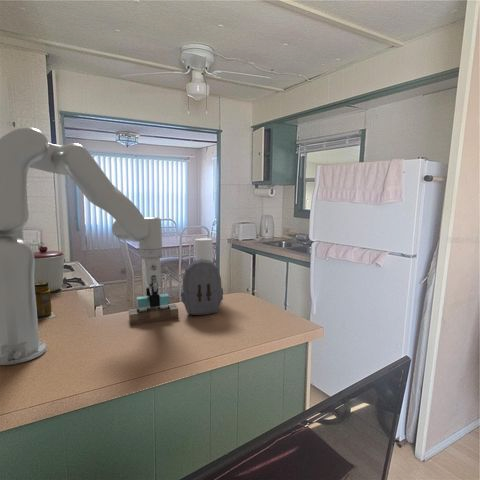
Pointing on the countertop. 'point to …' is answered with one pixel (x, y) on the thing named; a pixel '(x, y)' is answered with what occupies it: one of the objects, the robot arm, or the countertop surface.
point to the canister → (49, 267)
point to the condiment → (43, 301)
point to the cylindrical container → (204, 249)
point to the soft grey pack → (202, 288)
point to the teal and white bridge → (145, 302)
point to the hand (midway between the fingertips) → (153, 302)
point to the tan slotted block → (153, 314)
